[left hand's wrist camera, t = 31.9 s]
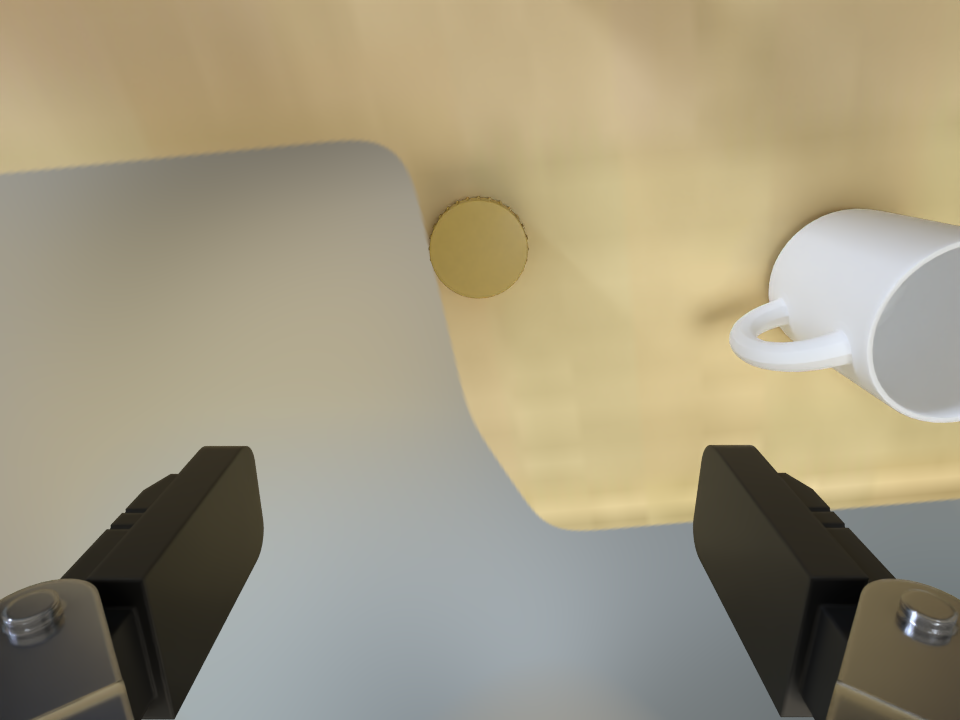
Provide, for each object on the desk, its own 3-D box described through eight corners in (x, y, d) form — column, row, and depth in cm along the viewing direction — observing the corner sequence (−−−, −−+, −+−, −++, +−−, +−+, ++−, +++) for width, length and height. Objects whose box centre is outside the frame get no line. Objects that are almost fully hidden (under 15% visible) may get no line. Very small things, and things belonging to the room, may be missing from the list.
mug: (713, 382, 38) (793, 467, 28) (686, 253, 35) (764, 298, 26) (915, 324, 37) (1071, 393, 27) (903, 186, 34) (1071, 207, 24)
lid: (426, 286, 36) (424, 293, 35) (435, 190, 34) (432, 193, 33) (519, 297, 36) (521, 304, 35) (533, 201, 35) (535, 205, 33)
